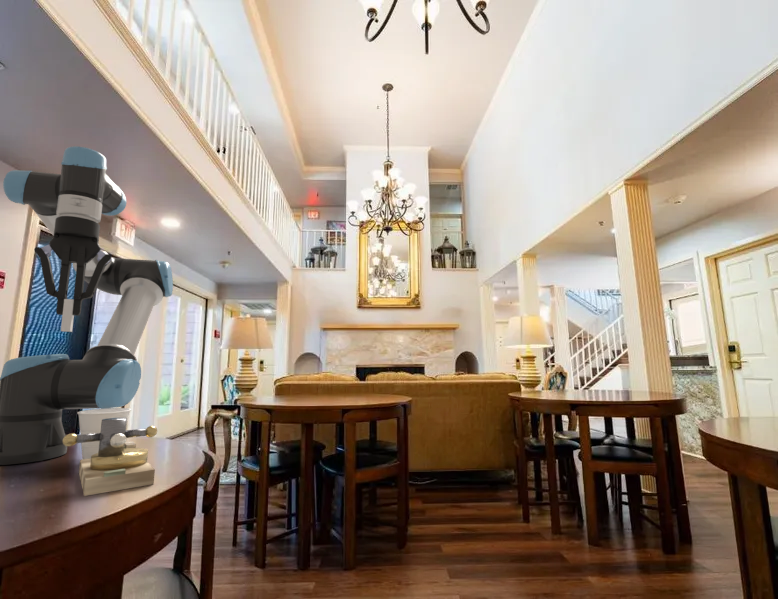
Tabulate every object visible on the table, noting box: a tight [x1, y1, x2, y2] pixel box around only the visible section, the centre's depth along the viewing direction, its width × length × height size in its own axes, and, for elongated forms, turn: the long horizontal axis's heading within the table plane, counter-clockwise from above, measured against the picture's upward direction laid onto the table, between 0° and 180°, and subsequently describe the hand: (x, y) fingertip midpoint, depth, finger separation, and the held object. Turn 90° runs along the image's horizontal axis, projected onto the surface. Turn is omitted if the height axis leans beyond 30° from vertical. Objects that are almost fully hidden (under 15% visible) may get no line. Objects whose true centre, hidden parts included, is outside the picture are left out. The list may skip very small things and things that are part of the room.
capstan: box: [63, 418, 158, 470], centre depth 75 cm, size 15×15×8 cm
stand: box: [78, 441, 156, 497], centre depth 76 cm, size 18×10×5 cm, turn 40°
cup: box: [76, 407, 132, 459], centre depth 89 cm, size 10×10×11 cm
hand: (66, 331), depth 82 cm, fingers closed
